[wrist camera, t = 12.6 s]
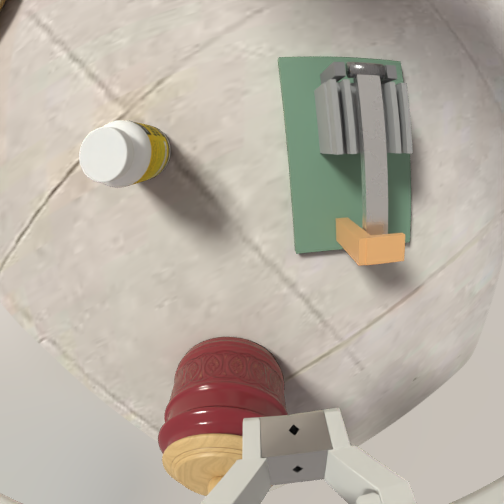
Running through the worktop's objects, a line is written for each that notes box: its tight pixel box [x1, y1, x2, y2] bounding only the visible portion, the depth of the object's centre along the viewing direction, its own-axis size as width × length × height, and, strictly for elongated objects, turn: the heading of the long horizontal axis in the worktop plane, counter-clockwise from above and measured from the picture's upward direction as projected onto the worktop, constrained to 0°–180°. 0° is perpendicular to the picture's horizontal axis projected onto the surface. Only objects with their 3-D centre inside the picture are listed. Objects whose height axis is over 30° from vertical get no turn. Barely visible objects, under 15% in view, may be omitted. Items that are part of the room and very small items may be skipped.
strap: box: [346, 62, 388, 235], centre depth 24 cm, size 16×3×1 cm, turn 6°
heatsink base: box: [278, 57, 413, 254], centre depth 26 cm, size 19×12×6 cm, turn 6°
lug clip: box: [336, 218, 405, 266], centre depth 27 cm, size 2×4×7 cm, turn 96°
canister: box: [158, 337, 288, 496], centre depth 29 cm, size 13×13×18 cm
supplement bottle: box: [79, 120, 170, 188], centre depth 24 cm, size 5×5×10 cm
